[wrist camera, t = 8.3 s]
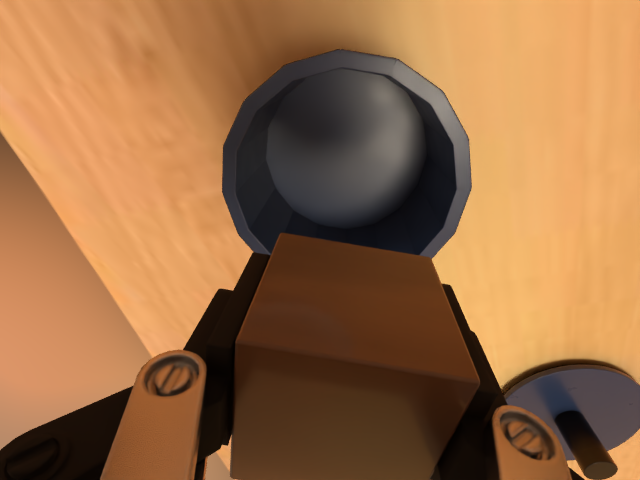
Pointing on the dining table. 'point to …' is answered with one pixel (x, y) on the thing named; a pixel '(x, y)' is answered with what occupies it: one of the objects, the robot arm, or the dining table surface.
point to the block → (347, 367)
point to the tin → (347, 157)
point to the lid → (583, 411)
